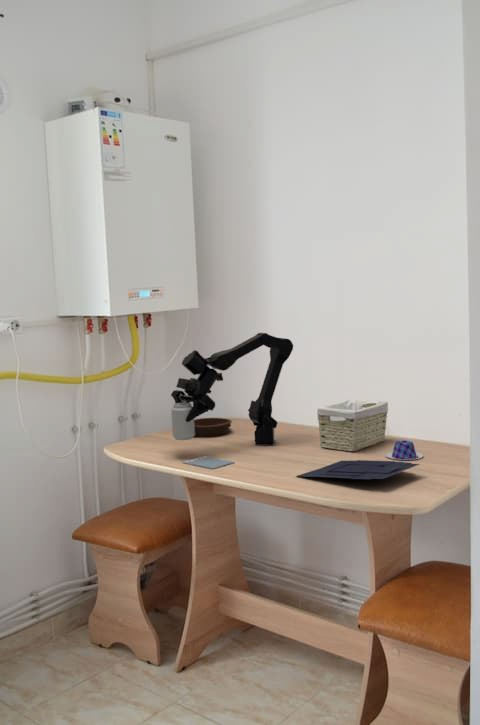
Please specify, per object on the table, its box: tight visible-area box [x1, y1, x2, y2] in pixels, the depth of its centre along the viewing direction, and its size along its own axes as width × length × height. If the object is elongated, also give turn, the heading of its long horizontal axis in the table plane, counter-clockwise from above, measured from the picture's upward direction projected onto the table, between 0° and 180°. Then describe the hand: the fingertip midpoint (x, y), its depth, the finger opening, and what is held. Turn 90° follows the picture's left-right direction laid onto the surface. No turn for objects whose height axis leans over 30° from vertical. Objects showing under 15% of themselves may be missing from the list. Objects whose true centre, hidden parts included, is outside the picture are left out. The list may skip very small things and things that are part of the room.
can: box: [170, 402, 196, 441], centre depth 259 cm, size 8×8×12 cm
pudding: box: [385, 439, 424, 461], centre depth 251 cm, size 12×12×5 cm
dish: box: [194, 417, 233, 438], centre depth 298 cm, size 18×22×5 cm
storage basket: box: [316, 398, 389, 452], centre depth 270 cm, size 24×16×15 cm
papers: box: [297, 459, 420, 480], centre depth 229 cm, size 24×30×4 cm
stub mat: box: [182, 455, 236, 470], centre depth 251 cm, size 14×10×1 cm
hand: (179, 419), depth 258 cm, fingers closed on can, 7 cm apart
